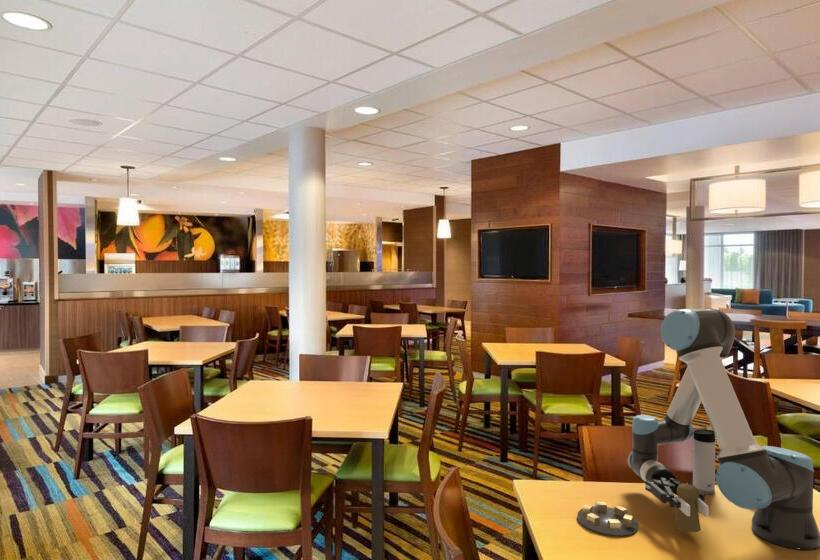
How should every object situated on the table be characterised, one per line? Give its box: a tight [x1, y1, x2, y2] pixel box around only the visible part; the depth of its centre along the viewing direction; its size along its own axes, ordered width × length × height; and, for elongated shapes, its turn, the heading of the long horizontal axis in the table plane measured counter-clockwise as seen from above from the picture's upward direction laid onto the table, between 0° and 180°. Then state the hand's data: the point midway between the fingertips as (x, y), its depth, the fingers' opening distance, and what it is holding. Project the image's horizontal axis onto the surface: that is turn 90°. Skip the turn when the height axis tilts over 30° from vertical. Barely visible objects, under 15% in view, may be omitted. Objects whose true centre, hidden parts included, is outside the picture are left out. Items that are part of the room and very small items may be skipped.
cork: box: [674, 483, 701, 533], centre depth 137 cm, size 6×6×11 cm
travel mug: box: [692, 428, 716, 495], centre depth 167 cm, size 6×7×20 cm
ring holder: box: [577, 501, 639, 538], centre depth 145 cm, size 16×16×3 cm
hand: (697, 511), depth 131 cm, fingers closed on cork, 4 cm apart
